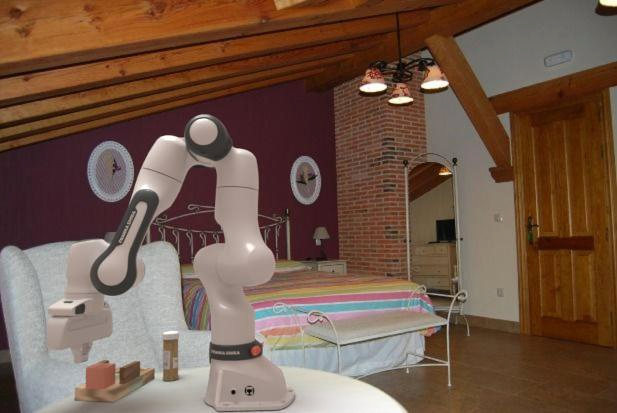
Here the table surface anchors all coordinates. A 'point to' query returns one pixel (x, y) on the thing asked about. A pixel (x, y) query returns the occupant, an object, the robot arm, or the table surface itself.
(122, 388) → the wooden block stand
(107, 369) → the brick-red block
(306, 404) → the table surface
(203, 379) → the table surface
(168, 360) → the sprinkles bottle
